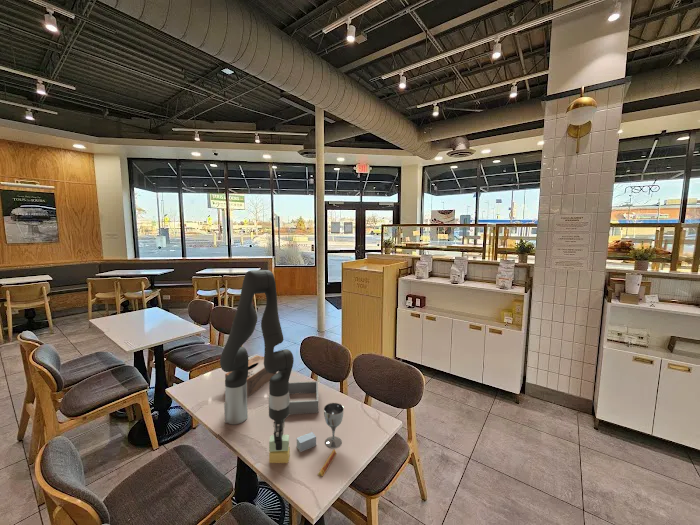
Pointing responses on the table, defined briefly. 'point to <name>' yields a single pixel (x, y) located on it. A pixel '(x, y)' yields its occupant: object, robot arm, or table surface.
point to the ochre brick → (279, 456)
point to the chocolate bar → (327, 463)
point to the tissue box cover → (256, 374)
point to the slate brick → (306, 441)
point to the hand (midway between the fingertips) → (279, 445)
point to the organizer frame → (303, 406)
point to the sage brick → (284, 443)
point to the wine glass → (333, 423)
